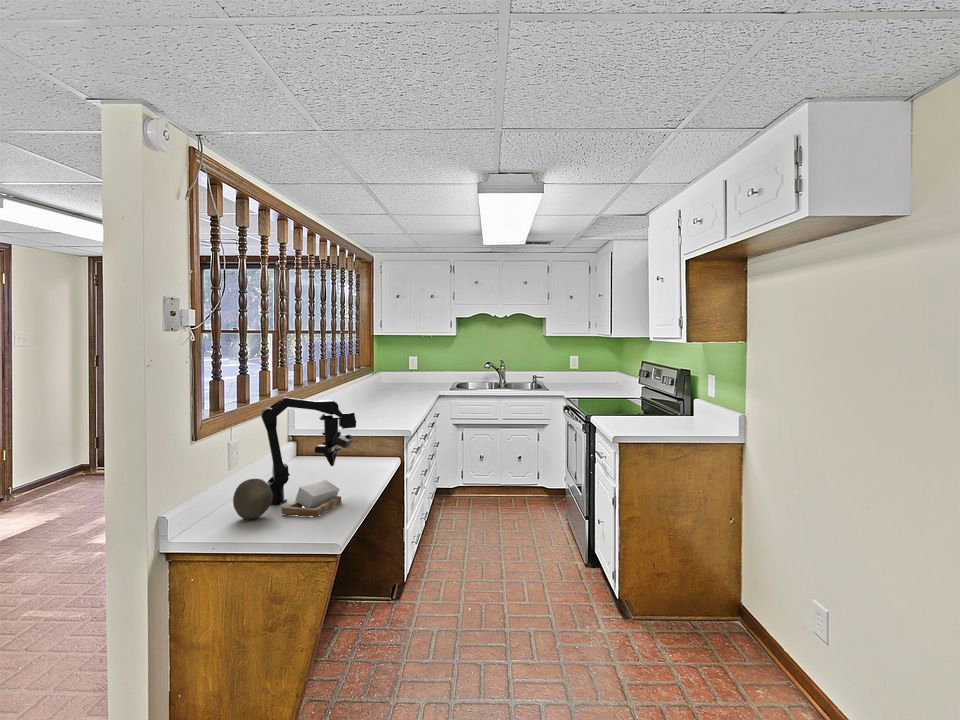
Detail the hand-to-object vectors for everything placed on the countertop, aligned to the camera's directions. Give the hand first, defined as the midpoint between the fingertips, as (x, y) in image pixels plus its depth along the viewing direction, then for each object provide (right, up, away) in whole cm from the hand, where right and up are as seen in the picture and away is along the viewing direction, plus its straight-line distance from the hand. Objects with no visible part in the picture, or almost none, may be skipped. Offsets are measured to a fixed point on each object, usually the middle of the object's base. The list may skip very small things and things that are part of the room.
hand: (332, 465), depth 262 cm
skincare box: (+2, -9, -8) cm, 12 cm away
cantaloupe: (-22, -15, -30) cm, 40 cm away
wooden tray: (-3, -14, -18) cm, 23 cm away
